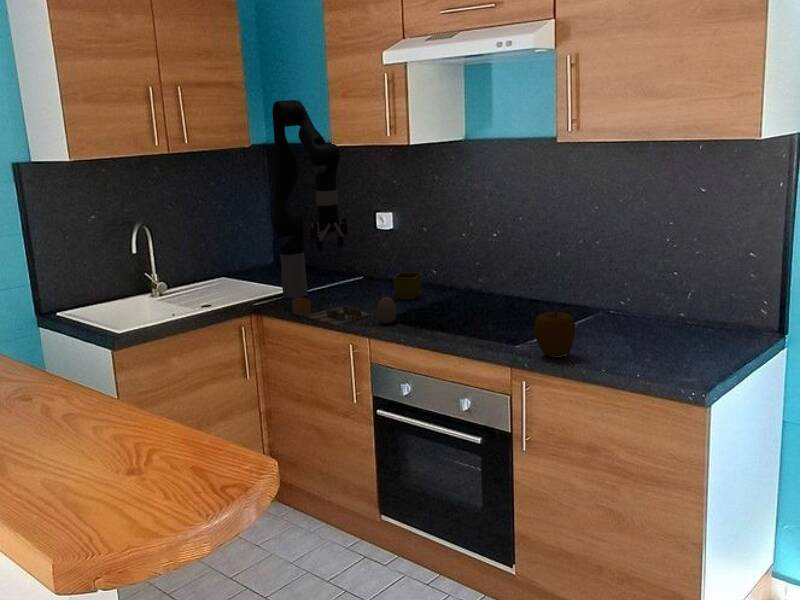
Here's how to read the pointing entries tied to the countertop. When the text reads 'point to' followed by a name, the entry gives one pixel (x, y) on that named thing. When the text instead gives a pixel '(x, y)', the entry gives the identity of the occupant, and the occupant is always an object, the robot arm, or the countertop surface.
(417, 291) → the flower pot
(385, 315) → the egg
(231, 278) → the countertop surface
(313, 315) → the header board
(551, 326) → the apple
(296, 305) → the plug block
